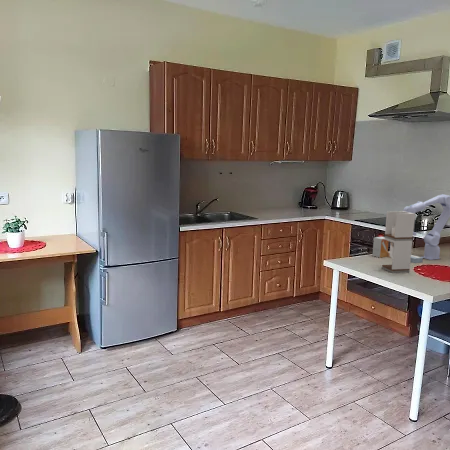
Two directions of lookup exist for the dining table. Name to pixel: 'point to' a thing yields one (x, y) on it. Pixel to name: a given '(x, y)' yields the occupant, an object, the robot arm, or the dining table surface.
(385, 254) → the small box
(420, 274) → the dining table surface
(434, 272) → the dining table surface
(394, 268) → the coffee grinder
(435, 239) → the robot arm
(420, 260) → the pad
